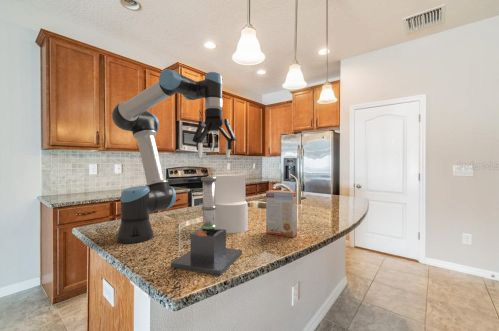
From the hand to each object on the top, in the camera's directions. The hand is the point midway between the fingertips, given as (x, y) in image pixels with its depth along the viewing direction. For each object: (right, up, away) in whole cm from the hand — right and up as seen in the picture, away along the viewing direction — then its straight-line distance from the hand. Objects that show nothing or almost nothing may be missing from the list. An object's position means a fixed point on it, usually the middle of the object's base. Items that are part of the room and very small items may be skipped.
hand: (213, 157), depth 102 cm
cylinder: (+6, -37, +20) cm, 42 cm away
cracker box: (+31, -37, +10) cm, 49 cm away
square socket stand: (+1, -37, -21) cm, 42 cm away
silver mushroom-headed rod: (+1, -30, -21) cm, 36 cm away
